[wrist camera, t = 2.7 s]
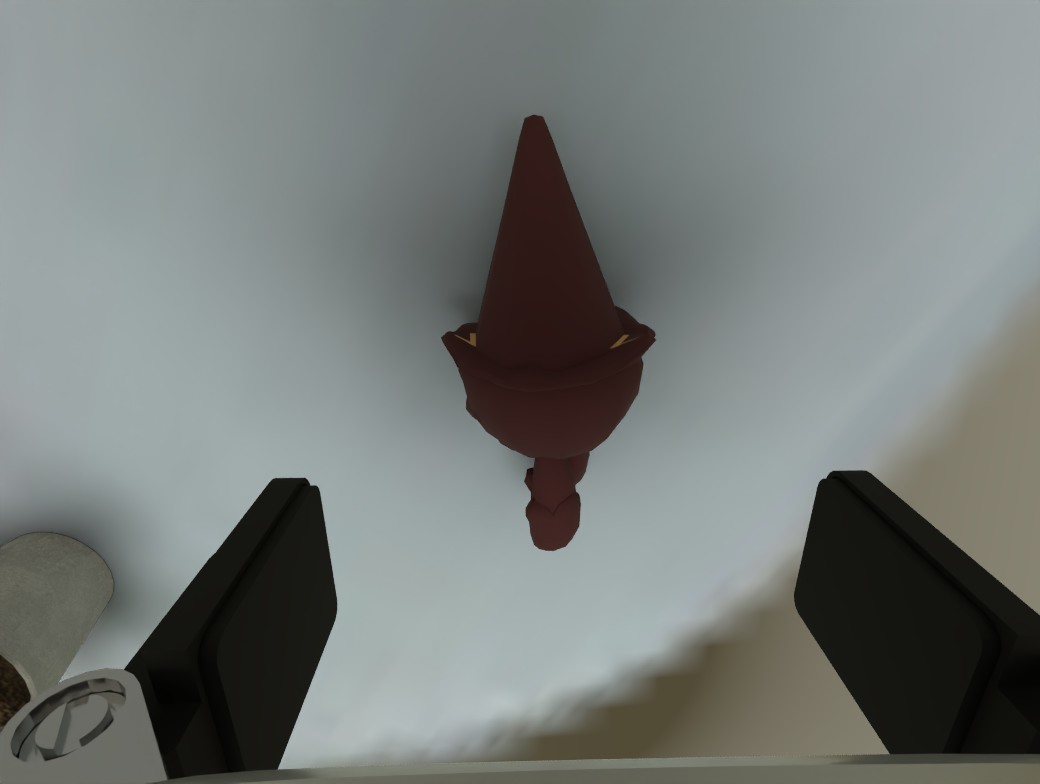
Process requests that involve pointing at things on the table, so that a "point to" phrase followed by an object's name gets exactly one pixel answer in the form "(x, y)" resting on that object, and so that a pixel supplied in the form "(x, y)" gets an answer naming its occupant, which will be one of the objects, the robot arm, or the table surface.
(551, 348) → the icecream
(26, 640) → the house plant
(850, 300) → the table surface
